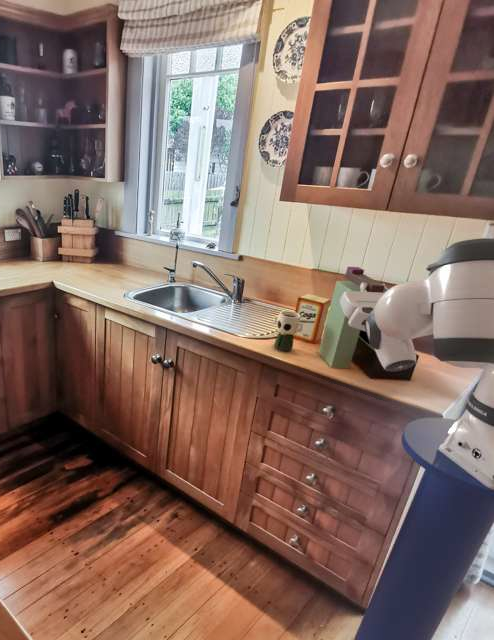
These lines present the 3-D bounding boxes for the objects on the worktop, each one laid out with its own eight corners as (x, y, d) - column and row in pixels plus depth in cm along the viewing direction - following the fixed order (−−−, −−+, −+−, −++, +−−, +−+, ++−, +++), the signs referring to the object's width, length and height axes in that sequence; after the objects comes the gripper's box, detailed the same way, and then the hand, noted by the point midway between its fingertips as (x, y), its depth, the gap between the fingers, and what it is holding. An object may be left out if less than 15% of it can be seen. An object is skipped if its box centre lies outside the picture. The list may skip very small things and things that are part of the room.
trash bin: (410, 380, 147) (419, 355, 143) (370, 378, 147) (378, 353, 143) (377, 352, 167) (384, 330, 163) (342, 350, 167) (348, 328, 163)
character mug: (263, 346, 167) (270, 311, 162) (275, 341, 172) (282, 308, 166) (290, 356, 160) (298, 320, 154) (301, 351, 164) (310, 316, 158)
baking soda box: (320, 339, 176) (331, 298, 169) (314, 343, 171) (324, 302, 164) (296, 332, 181) (305, 292, 174) (289, 336, 177) (298, 296, 170)
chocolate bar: (382, 293, 134) (386, 281, 132) (369, 293, 134) (373, 281, 132) (355, 278, 150) (358, 267, 148) (344, 277, 150) (347, 266, 148)
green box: (349, 368, 153) (371, 291, 142) (331, 367, 153) (352, 290, 142) (335, 353, 164) (355, 281, 152) (318, 352, 164) (336, 280, 152)
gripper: (428, 314, 126) (413, 278, 134) (353, 310, 126) (341, 274, 134) (415, 329, 131) (401, 293, 139) (343, 325, 131) (333, 290, 139)
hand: (371, 284), depth 136 cm, fingers closed on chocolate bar, 3 cm apart
